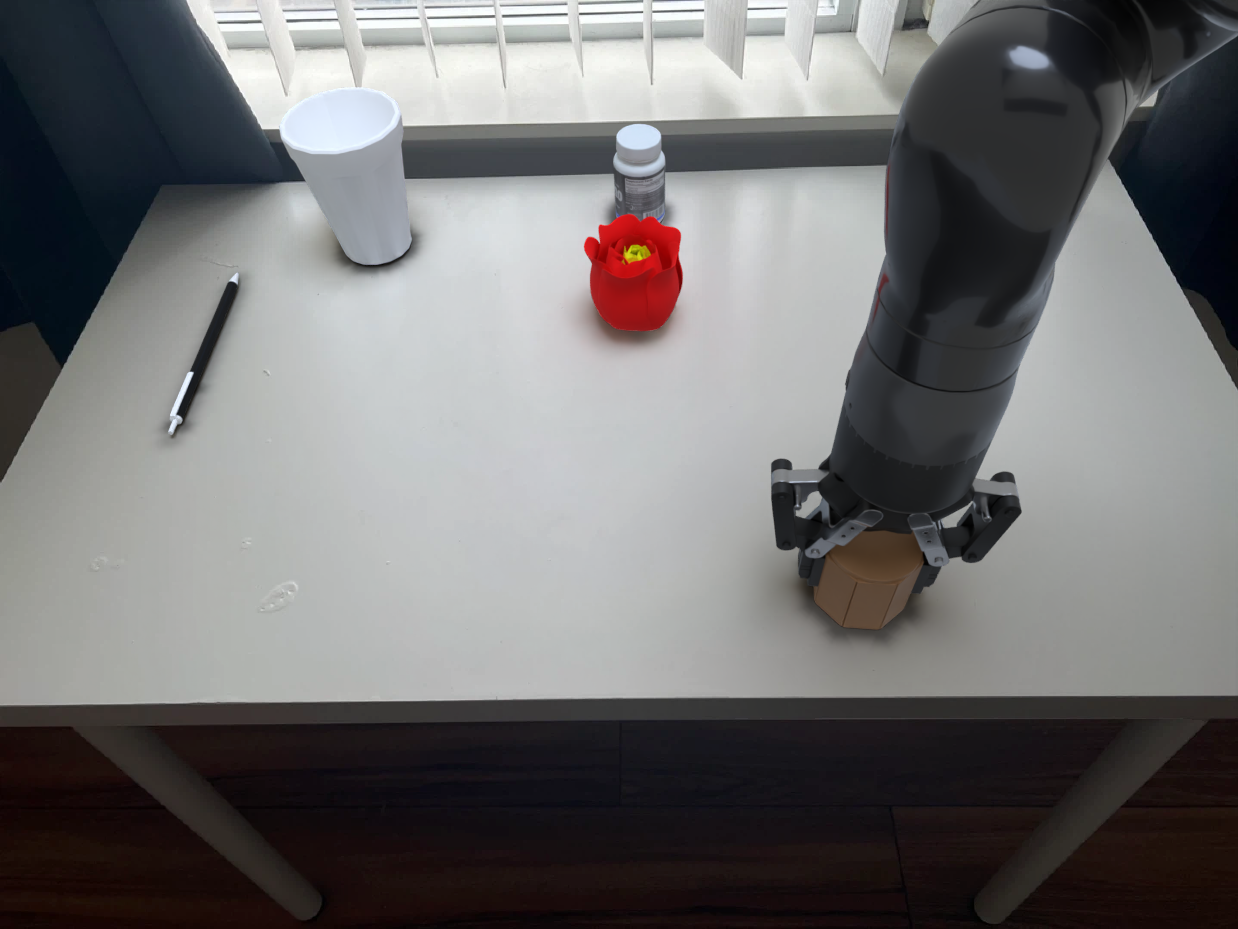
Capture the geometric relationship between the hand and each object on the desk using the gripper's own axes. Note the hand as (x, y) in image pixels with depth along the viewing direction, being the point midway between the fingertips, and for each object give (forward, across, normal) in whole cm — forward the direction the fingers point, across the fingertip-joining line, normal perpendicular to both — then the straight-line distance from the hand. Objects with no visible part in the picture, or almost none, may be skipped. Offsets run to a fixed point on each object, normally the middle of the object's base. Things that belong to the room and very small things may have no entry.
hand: (862, 577), depth 58 cm
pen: (+2, -53, +19) cm, 56 cm away
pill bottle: (+2, -18, +40) cm, 43 cm away
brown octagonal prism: (+2, 0, 0) cm, 2 cm away
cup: (+2, -42, +34) cm, 54 cm away
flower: (+2, -17, +26) cm, 31 cm away
